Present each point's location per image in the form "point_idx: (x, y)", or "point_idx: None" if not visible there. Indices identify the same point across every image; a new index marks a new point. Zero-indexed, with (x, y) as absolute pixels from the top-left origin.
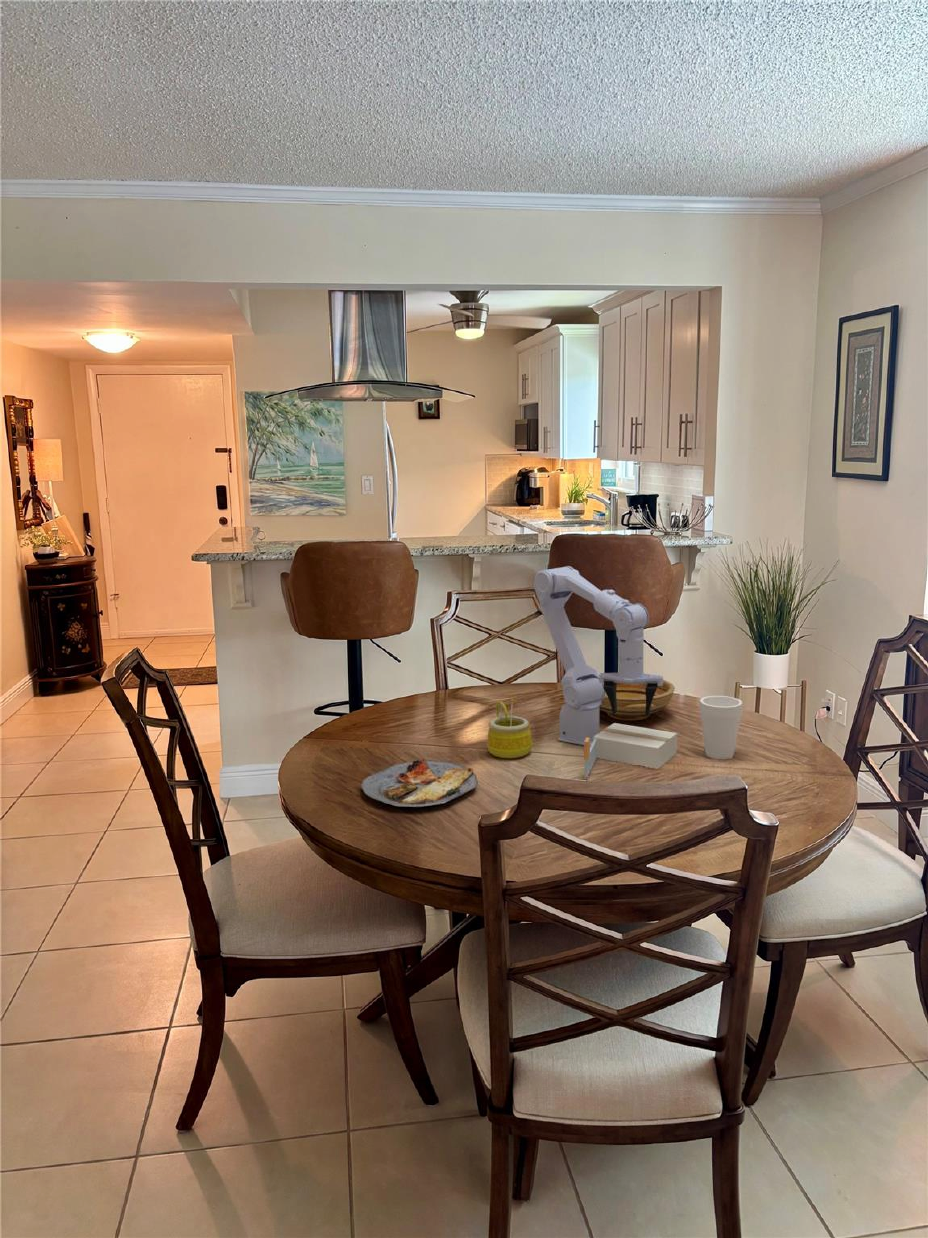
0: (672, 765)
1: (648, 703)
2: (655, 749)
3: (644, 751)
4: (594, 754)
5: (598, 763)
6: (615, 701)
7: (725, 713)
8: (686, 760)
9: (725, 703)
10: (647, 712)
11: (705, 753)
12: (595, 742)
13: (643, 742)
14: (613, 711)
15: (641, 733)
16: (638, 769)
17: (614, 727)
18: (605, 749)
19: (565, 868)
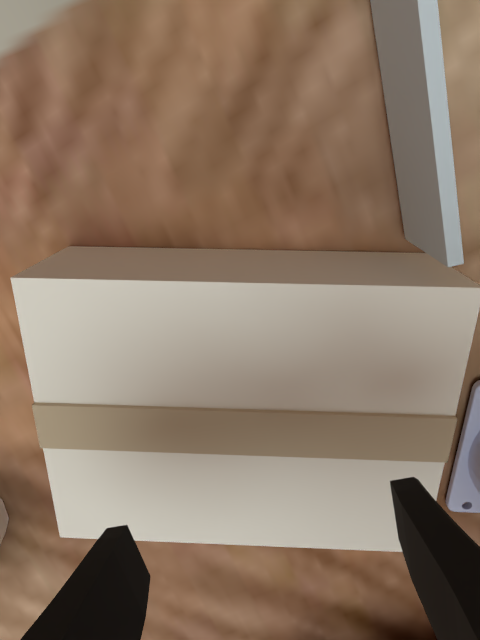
0: None
1: (40, 634)
2: (31, 274)
3: (113, 269)
4: (408, 154)
5: (373, 181)
6: (440, 617)
7: None
8: (23, 408)
9: None
10: (95, 547)
11: (1, 501)
12: (438, 204)
13: (139, 337)
14: (412, 489)
15: (219, 468)
16: (149, 201)
17: None
18: (369, 266)
19: None
